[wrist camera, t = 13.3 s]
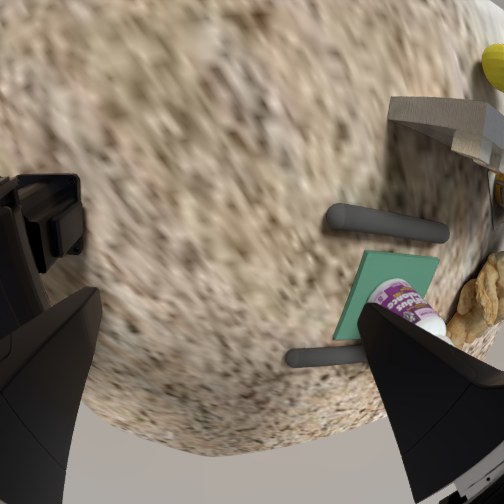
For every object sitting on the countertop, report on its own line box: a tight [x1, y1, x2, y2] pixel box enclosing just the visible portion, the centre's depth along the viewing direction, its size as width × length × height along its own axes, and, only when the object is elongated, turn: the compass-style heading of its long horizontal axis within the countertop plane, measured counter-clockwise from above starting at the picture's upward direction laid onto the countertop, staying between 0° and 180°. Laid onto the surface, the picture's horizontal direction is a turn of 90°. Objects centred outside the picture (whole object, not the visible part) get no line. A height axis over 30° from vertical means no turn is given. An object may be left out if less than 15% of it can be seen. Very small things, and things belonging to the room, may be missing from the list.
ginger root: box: [446, 251, 504, 350], centre depth 28 cm, size 16×16×8 cm
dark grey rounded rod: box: [286, 345, 367, 368], centre depth 29 cm, size 14×2×2 cm, turn 81°
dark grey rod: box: [327, 203, 450, 244], centre depth 22 cm, size 14×2×2 cm, turn 81°
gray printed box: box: [388, 97, 504, 178], centre depth 16 cm, size 16×3×10 cm, turn 81°
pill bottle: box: [367, 278, 455, 347], centre depth 22 cm, size 5×5×10 cm
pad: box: [333, 250, 440, 340], centre depth 27 cm, size 10×10×1 cm
